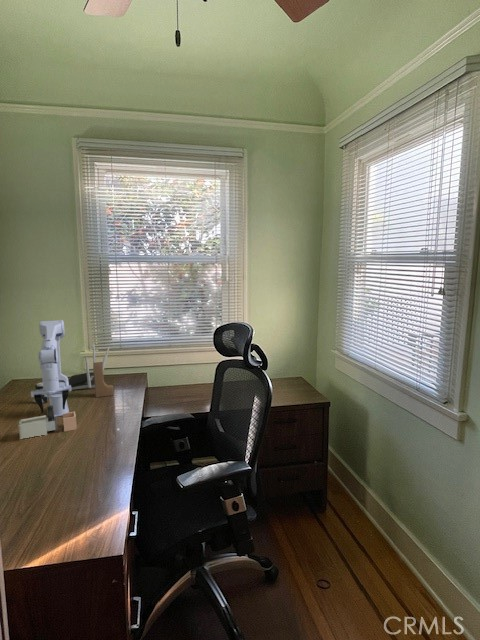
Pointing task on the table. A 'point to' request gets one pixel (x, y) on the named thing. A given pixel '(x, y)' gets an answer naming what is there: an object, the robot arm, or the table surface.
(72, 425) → the socket
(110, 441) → the table surface
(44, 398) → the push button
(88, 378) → the wireless router
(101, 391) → the wooden block
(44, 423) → the white channel beam
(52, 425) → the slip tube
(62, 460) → the table surface
